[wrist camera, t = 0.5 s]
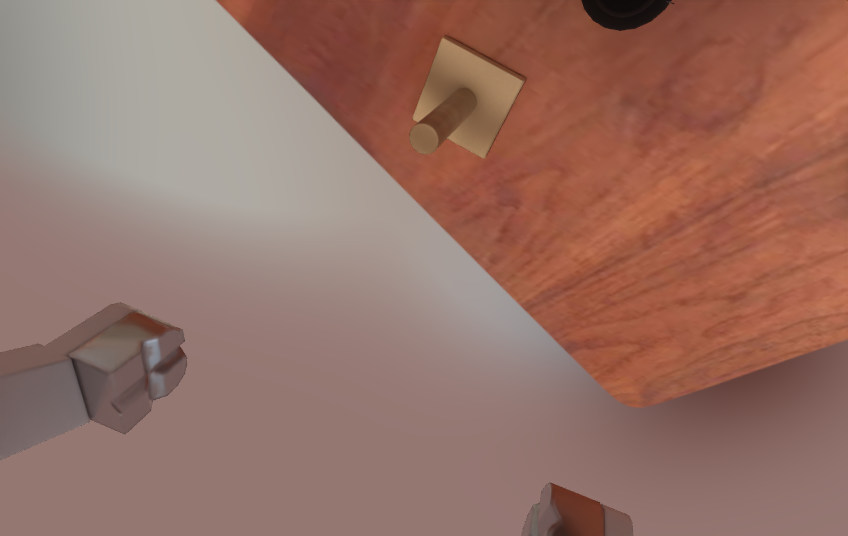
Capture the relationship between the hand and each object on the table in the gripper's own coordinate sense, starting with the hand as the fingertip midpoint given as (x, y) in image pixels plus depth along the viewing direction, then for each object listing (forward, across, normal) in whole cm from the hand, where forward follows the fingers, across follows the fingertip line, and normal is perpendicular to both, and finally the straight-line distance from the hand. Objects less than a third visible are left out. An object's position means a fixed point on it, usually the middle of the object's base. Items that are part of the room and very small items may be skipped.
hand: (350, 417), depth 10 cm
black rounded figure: (+37, -3, -10) cm, 38 cm away
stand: (+38, +6, +2) cm, 39 cm away
